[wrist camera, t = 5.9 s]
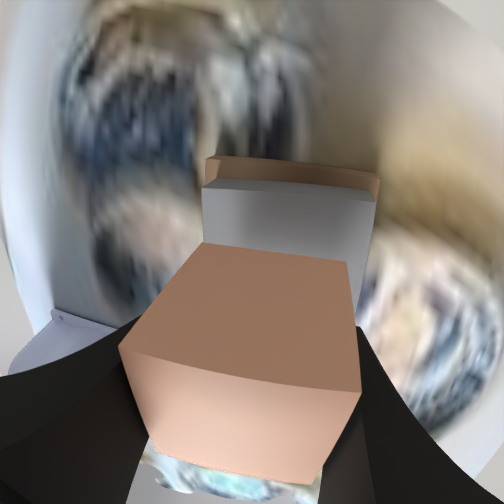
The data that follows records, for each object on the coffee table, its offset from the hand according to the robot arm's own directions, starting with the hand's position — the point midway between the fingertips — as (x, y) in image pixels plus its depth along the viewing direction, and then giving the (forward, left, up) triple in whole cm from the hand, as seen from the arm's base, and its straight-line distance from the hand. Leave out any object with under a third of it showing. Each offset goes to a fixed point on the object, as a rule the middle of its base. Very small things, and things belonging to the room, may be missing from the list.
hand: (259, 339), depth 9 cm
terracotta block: (0, 0, -1) cm, 1 cm away
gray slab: (0, 0, -7) cm, 7 cm away
